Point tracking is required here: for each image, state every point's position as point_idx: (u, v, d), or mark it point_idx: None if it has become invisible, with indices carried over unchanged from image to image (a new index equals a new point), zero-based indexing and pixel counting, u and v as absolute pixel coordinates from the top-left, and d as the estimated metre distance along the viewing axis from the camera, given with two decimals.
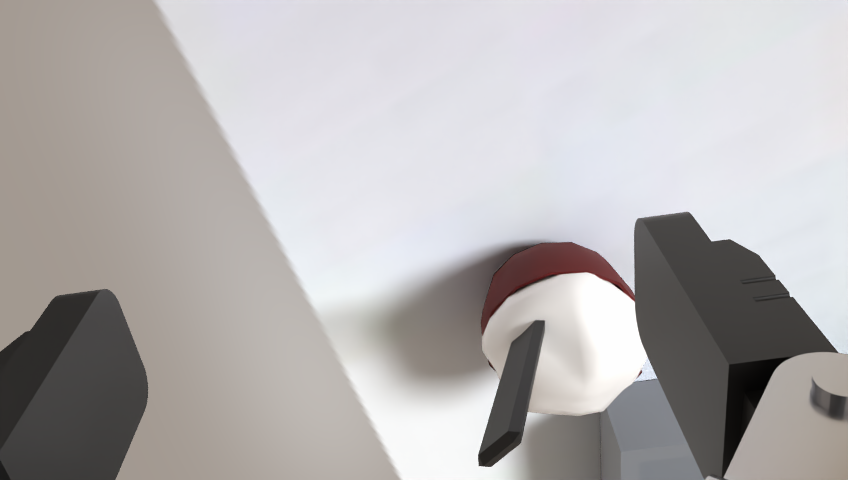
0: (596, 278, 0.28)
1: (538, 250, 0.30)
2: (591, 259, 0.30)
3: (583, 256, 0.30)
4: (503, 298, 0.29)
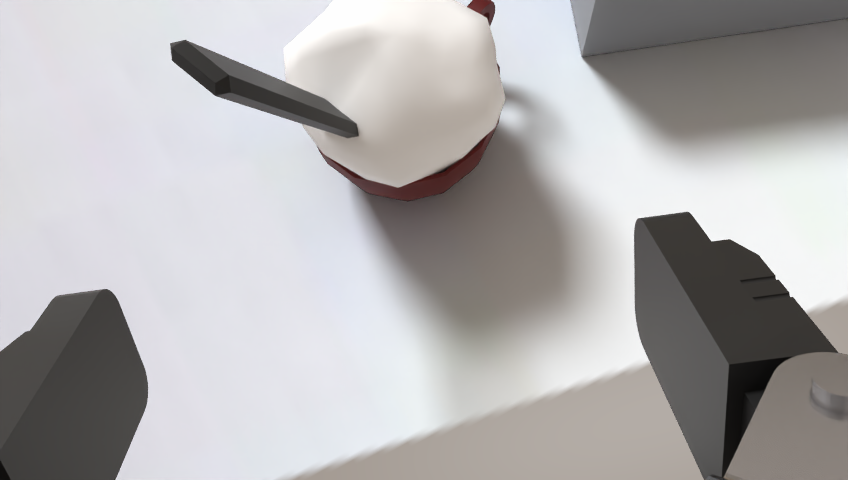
0: None
1: None
2: None
3: None
4: (337, 165, 0.24)
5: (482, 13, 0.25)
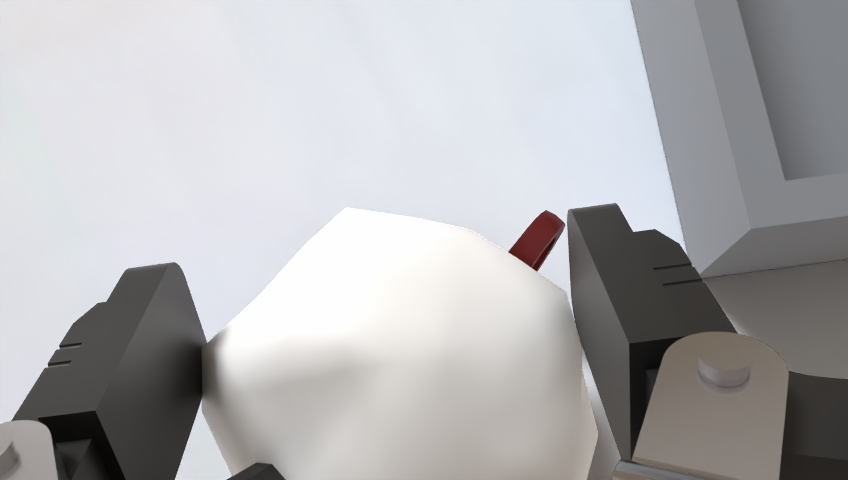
0: None
1: None
2: None
3: None
4: None
5: (546, 245, 0.15)
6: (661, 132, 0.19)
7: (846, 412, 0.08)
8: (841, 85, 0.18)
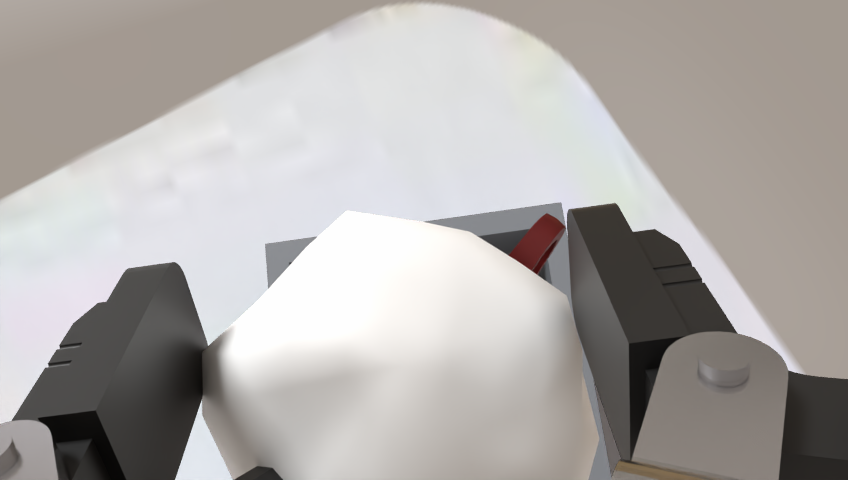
0: None
1: None
2: None
3: None
4: None
5: (547, 248, 0.15)
6: None
7: (845, 412, 0.08)
8: None
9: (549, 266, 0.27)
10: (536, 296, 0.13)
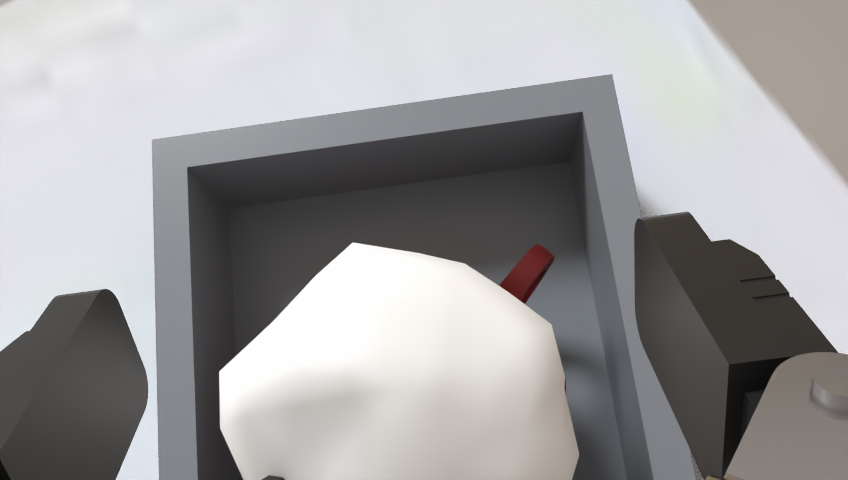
0: None
1: None
2: None
3: None
4: None
5: (536, 276, 0.16)
6: None
7: None
8: None
9: (594, 171, 0.17)
10: (523, 325, 0.14)
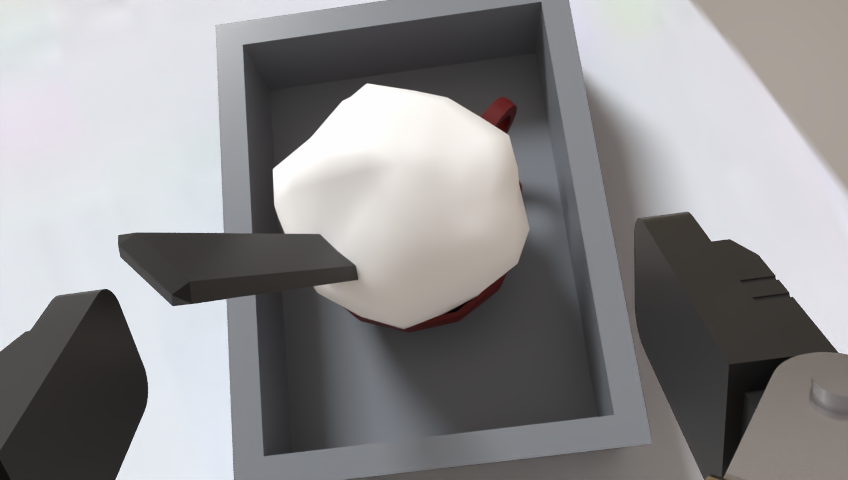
0: None
1: None
2: None
3: None
4: None
5: (502, 118, 0.22)
6: None
7: None
8: (387, 343, 0.24)
9: (549, 44, 0.23)
10: (488, 134, 0.20)
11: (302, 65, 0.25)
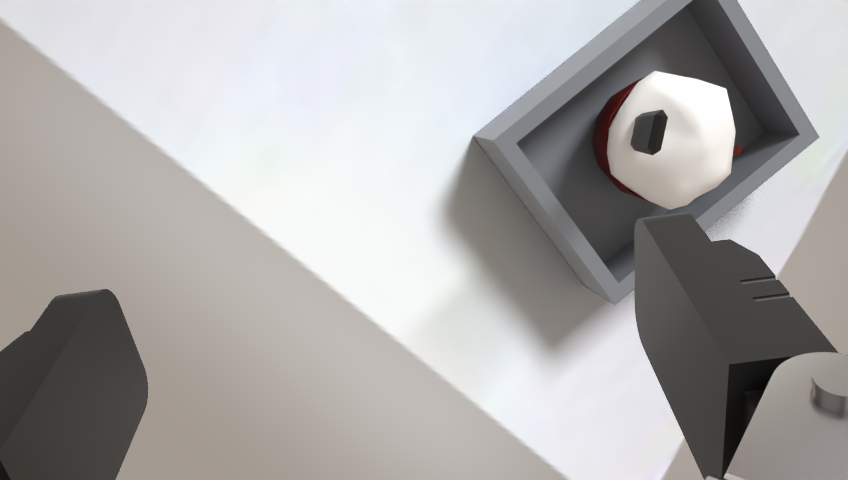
0: (657, 71, 0.36)
1: (609, 99, 0.39)
2: None
3: (641, 78, 0.38)
4: (607, 131, 0.37)
5: None
6: (527, 92, 0.41)
7: None
8: (577, 150, 0.41)
9: (778, 152, 0.40)
10: (728, 165, 0.37)
11: (706, 14, 0.39)
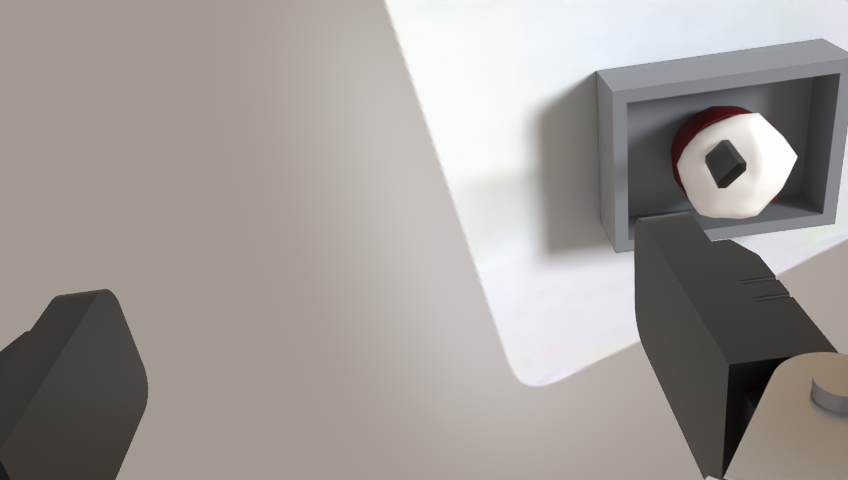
0: None
1: (712, 108, 0.46)
2: (750, 111, 0.45)
3: None
4: (694, 134, 0.45)
5: None
6: (656, 62, 0.47)
7: None
8: (663, 128, 0.48)
9: (799, 217, 0.48)
10: (759, 209, 0.45)
11: (823, 88, 0.46)
